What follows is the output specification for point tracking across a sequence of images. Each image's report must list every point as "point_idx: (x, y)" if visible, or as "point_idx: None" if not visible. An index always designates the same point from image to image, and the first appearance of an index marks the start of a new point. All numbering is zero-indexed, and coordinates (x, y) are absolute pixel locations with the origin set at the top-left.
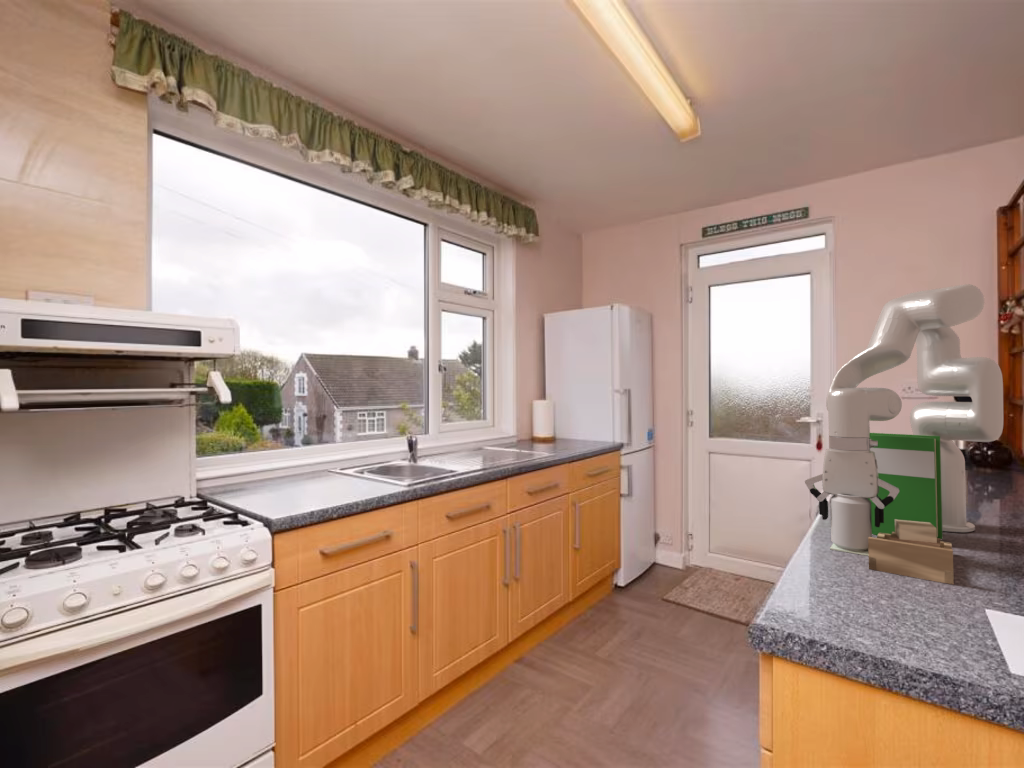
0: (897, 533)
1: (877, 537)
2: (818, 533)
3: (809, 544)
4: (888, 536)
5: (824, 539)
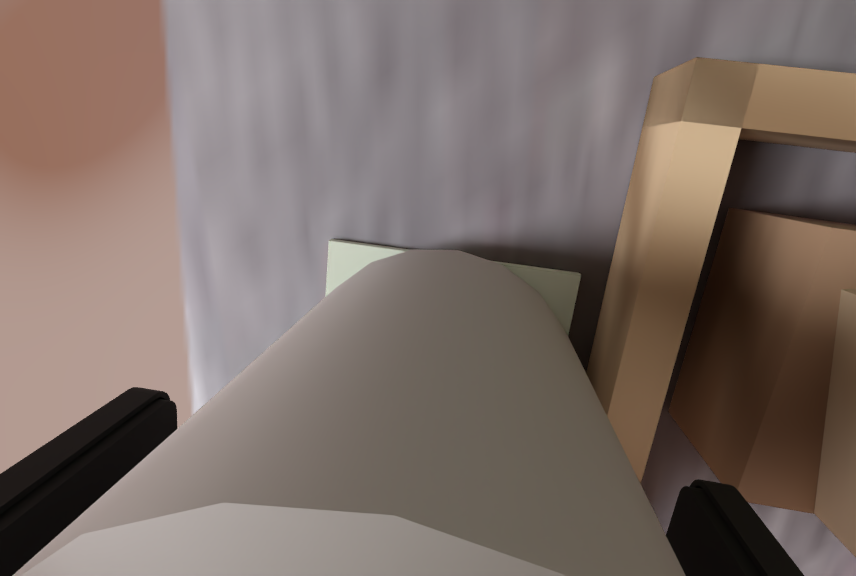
0: (848, 431)
1: (643, 294)
2: (191, 17)
3: (198, 393)
4: (764, 131)
5: (259, 205)
